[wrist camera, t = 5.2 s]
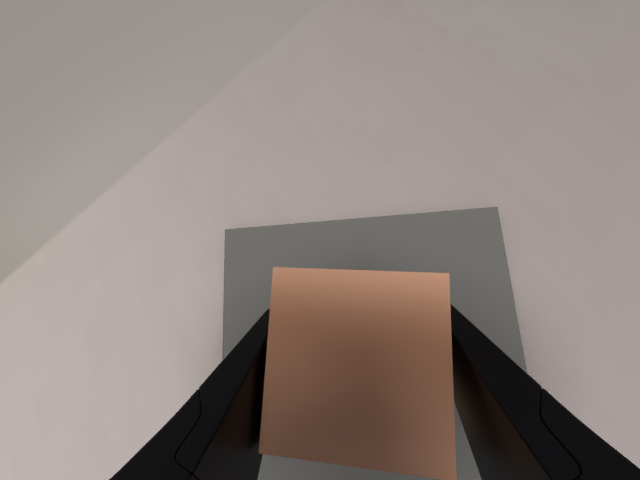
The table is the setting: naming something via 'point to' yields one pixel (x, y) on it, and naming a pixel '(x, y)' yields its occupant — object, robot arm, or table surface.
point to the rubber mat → (377, 255)
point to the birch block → (361, 370)
